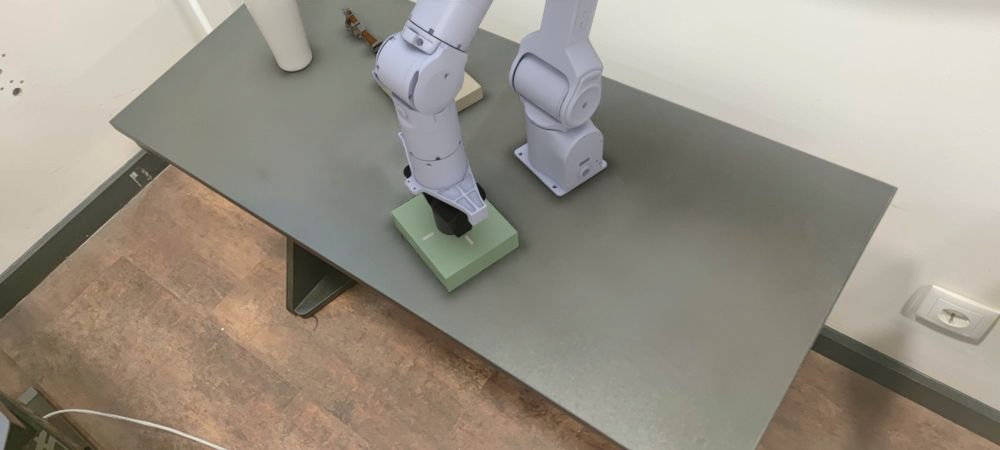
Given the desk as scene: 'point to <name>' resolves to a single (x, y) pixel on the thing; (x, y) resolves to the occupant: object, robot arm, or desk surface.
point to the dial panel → (454, 242)
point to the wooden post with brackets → (360, 29)
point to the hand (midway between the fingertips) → (452, 218)
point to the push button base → (461, 93)
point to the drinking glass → (282, 31)
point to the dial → (440, 220)
